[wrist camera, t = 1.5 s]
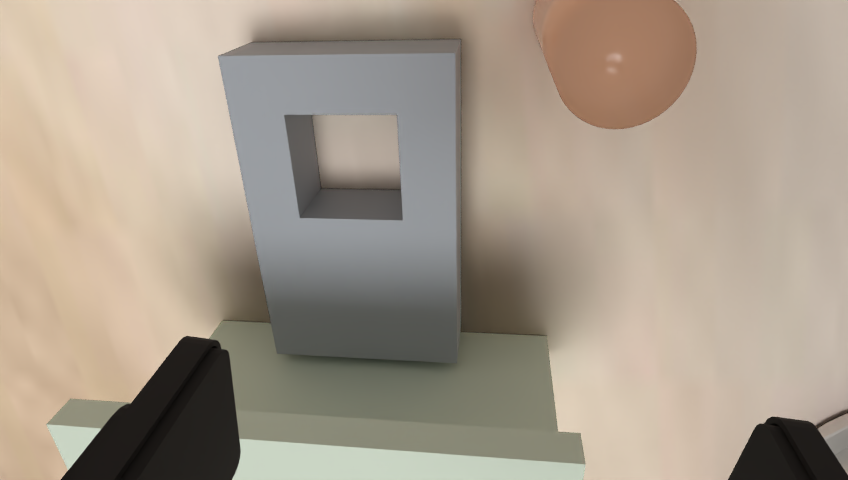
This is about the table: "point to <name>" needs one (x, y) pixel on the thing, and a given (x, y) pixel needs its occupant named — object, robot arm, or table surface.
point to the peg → (616, 56)
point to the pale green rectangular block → (379, 413)
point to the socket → (353, 196)
